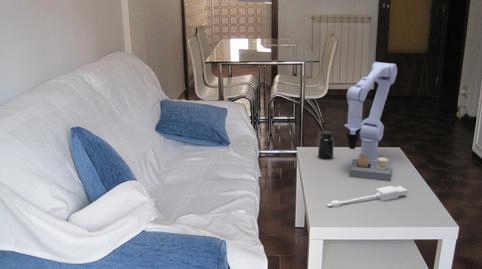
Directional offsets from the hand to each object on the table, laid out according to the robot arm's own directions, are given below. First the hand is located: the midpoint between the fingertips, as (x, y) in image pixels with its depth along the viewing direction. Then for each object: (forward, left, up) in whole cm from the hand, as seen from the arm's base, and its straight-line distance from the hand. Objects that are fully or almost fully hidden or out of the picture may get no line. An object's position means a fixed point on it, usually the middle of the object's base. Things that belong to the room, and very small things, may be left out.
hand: (352, 146), depth 210 cm
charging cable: (+32, +9, -10) cm, 35 cm away
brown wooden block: (+4, +5, -10) cm, 12 cm away
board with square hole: (+4, +8, -10) cm, 13 cm away
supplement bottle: (-10, -13, -10) cm, 19 cm away
